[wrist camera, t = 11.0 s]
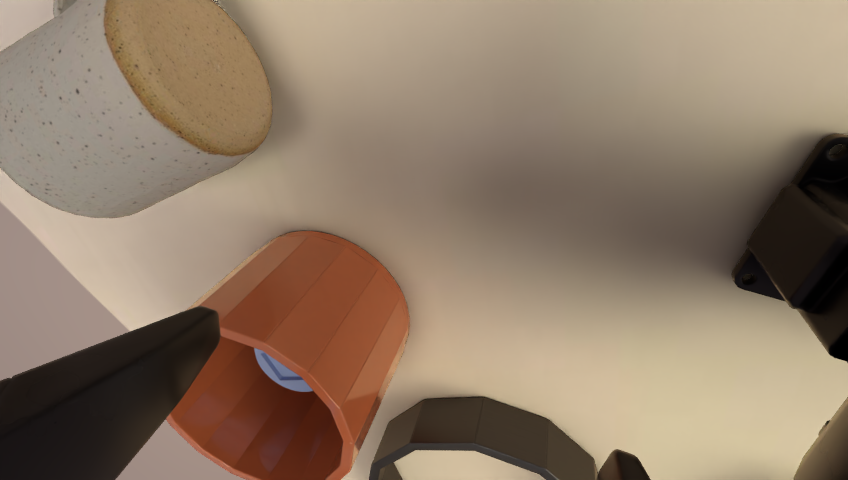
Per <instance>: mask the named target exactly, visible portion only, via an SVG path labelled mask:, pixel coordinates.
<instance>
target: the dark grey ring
mask: <svg viewBox="0 0 848 480" xmlns="http://www.w3.org/2000/svg"><path fill="white" fill-rule="evenodd" d="M415 450H464V451H477V452H480V453H483V454H485V455H488V456H491V457H494V458H496V459H499V460H502V461H505V462H507V463H510V464H513V465H516V466H518V467H521V468H524V469H527V470H529V471H532V472H535V473H538V474H540V475H541V476H542V477H544V478H545V479H546V480H597V476H598V473H597V469H596V465H595V462H594V459H593V458H592V457H591V456H590V455H589V454H588V453H586V452H585V451H584V450H583V449H582V448H581V447H580V446H578V445H577V444H576V443H575V442H574V441H573V440H571V439H570V438H569V437H568V436H567V435H566V434H565V433H563V432H562V431H561V430H560V429H559V428H558V427H557V426H555V425H554V424H553V423H552V422H551V421H550V420H548V419H546V418H543V417H540V416H537V415H534V414H532V413H529V412H526V411H523V410H520V409H517V408H514V407H511V406H508V405H505V404H502V403H500V402H497V401H494V400H491V399H488V398H485V397H484V398H483V397H474V398H447V399H425V400H423V401H421V402H420V403H418V404H417V405H415V406H414V407H412V408H410V409H409V410H407V411H406V412H404V413H402V414H401V415H399V416H398V417H396V418H395V419H393V420H391V421H390V422H389V423H388V426H387V428H386V431H385V433H384V435H383V438H382V440H381V443H380V445H379V448H378V450H377V453H376V455H375V457H374V460H373V462H372V465H371V470H370V476H369V480H402V478H401V476H400V475H399V473H398V471H397V469H396V467H395V465H394V463H393V462H395V461H396V460H398V459H400V458H402V457H404V456H406V455H407V454H409V453H411V452H413V451H415Z"/></svg>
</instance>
